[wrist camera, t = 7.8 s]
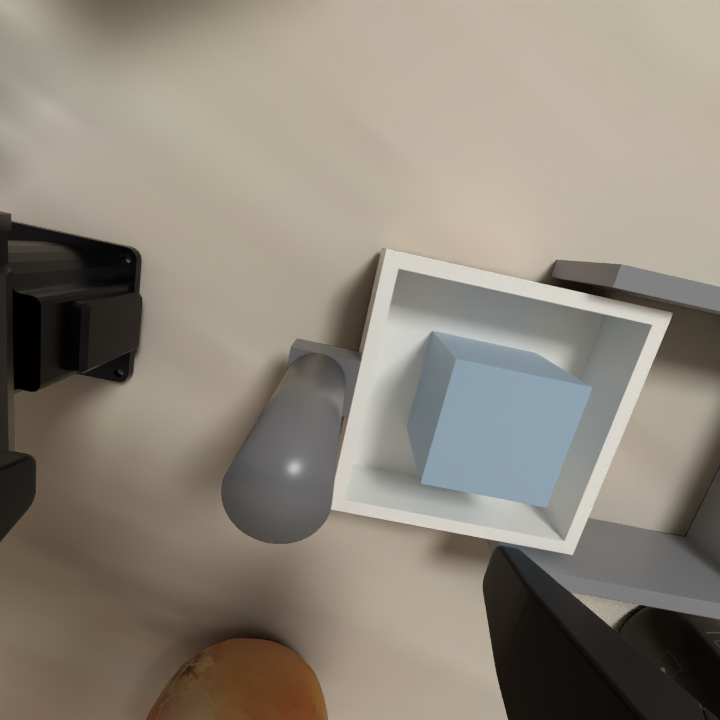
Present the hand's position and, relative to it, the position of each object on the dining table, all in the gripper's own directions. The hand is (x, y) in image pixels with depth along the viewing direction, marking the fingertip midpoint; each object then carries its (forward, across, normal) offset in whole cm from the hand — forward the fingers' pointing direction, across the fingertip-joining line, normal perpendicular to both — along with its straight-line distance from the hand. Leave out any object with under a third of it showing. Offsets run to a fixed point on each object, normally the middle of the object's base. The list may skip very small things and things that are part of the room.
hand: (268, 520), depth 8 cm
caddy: (+13, -6, 0) cm, 14 cm away
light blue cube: (+12, -7, 0) cm, 14 cm away
